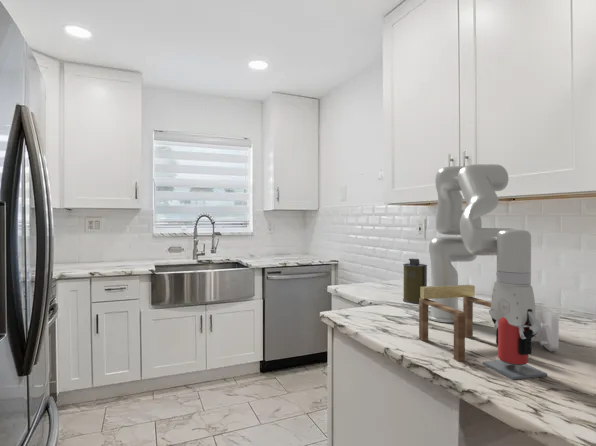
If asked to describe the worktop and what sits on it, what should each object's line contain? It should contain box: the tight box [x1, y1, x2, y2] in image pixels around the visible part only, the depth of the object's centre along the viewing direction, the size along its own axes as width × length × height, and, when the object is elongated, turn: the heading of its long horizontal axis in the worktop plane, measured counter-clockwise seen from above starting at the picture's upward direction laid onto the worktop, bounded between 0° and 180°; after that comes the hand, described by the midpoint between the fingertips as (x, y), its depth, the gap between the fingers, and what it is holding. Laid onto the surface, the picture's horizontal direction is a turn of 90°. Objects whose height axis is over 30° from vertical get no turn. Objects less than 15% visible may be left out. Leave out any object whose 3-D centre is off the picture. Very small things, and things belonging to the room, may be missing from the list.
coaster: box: [481, 359, 548, 381], centre depth 94 cm, size 10×10×1 cm
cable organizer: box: [531, 303, 560, 353], centre depth 113 cm, size 15×11×12 cm
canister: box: [402, 258, 428, 304], centre depth 176 cm, size 11×10×20 cm
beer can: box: [497, 314, 529, 365], centre depth 94 cm, size 7×7×12 cm
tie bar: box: [420, 284, 476, 300], centre depth 119 cm, size 2×18×4 cm, turn 103°
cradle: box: [418, 297, 491, 362], centre depth 111 cm, size 20×18×13 cm
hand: (513, 348), depth 94 cm, fingers closed on beer can, 6 cm apart
